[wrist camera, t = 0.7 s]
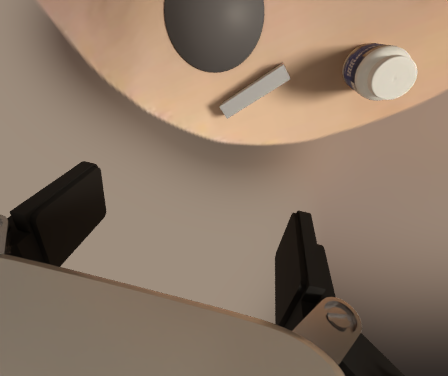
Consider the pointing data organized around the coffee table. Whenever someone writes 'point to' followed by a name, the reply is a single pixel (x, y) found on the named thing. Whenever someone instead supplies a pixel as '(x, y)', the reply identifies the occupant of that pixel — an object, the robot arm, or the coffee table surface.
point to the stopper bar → (255, 90)
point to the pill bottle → (379, 71)
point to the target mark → (214, 31)
